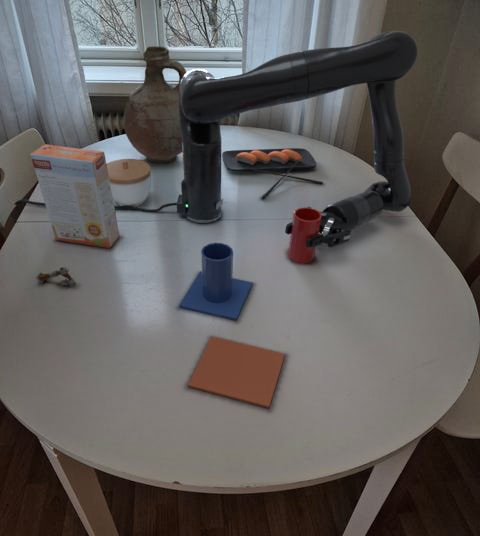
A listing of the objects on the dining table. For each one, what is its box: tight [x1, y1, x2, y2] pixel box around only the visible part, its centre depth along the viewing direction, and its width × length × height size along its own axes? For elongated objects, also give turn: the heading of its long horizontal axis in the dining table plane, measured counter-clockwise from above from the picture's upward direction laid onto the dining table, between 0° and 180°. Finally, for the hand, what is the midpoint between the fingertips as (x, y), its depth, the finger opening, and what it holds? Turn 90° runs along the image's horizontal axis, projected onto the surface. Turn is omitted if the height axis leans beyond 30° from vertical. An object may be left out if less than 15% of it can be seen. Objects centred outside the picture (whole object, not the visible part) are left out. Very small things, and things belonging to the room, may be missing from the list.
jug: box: [122, 45, 188, 163], centre depth 128 cm, size 22×22×30 cm
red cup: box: [287, 206, 322, 265], centre depth 97 cm, size 6×6×11 cm
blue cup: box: [200, 242, 234, 303], centre depth 86 cm, size 6×6×11 cm
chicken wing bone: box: [35, 266, 77, 287], centre depth 89 cm, size 2×8×4 cm, turn 78°
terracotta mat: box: [187, 335, 286, 409], centre depth 75 cm, size 14×12×1 cm
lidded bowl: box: [106, 158, 152, 207], centre depth 113 cm, size 13×13×11 cm
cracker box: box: [29, 143, 120, 249], centre depth 96 cm, size 14×6×21 cm, turn 77°
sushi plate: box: [221, 147, 324, 200], centre depth 131 cm, size 29×30×4 cm
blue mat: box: [178, 270, 254, 321], centre depth 89 cm, size 12×12×1 cm
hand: (297, 236), depth 95 cm, fingers closed on red cup, 6 cm apart
